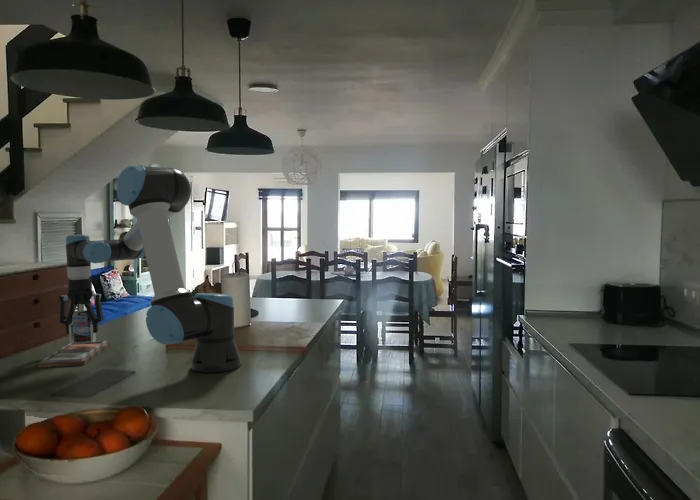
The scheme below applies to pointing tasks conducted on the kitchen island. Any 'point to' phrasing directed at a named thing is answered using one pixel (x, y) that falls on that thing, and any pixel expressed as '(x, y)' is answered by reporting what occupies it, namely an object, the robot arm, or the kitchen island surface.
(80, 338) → the beverage can
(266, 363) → the kitchen island surface
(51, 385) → the kitchen island surface
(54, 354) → the framed panel board
